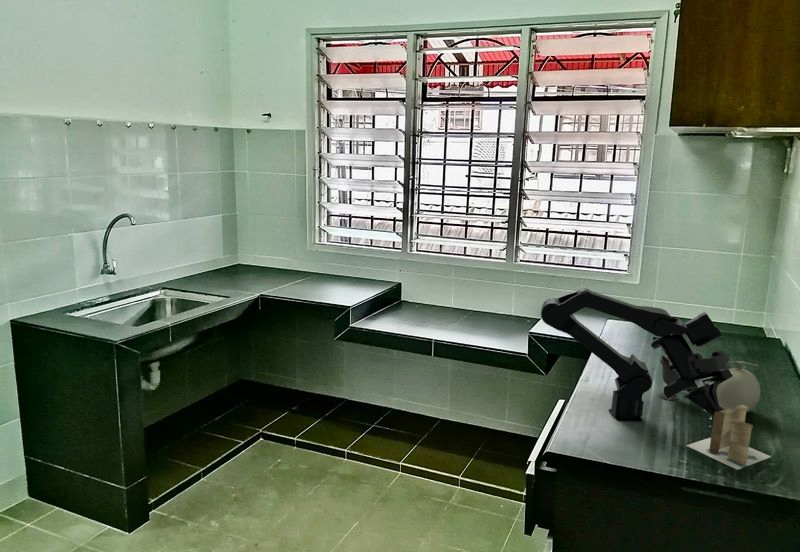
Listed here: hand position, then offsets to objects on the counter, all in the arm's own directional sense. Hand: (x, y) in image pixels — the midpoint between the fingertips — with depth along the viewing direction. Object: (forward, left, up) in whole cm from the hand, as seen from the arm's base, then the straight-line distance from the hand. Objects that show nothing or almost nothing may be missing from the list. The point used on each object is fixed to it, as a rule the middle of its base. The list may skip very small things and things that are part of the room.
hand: (719, 416), depth 137 cm
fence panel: (+2, -2, -6) cm, 6 cm away
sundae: (+1, +28, -7) cm, 28 cm away
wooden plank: (-1, -7, -6) cm, 10 cm away
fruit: (+14, +20, -7) cm, 25 cm away
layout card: (+1, -4, -7) cm, 8 cm away
